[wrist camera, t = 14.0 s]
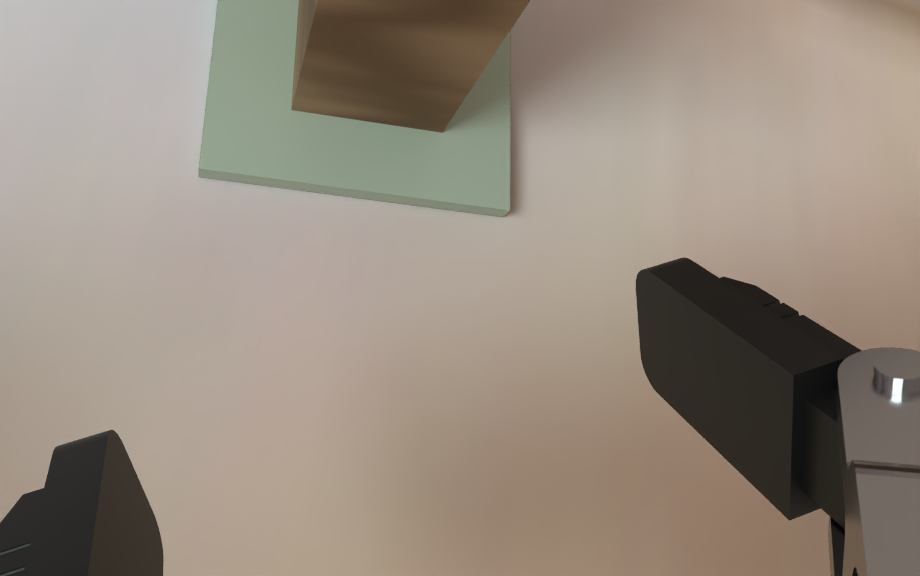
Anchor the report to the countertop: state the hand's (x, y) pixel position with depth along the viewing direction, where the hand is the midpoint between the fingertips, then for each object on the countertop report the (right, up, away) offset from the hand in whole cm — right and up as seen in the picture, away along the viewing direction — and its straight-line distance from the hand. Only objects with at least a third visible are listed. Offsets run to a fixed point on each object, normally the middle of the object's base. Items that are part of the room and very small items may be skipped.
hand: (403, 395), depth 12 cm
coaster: (-2, +9, +13) cm, 15 cm away
